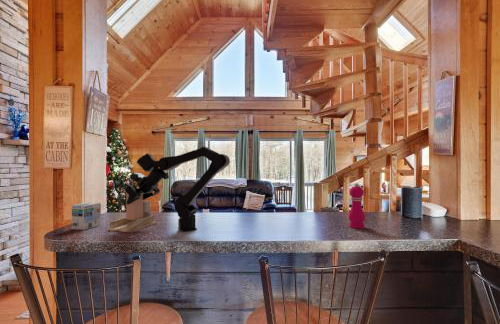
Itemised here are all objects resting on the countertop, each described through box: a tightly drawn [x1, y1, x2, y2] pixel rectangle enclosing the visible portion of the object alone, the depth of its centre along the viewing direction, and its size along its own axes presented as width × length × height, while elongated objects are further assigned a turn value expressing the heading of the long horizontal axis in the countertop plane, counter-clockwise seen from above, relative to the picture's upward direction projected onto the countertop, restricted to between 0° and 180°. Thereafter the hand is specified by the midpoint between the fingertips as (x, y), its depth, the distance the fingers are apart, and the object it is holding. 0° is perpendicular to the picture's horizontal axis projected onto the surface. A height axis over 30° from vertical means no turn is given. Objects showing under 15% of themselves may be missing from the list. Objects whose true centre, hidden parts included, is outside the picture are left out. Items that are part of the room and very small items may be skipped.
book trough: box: [107, 200, 157, 233], centre depth 130 cm, size 12×18×11 cm, turn 165°
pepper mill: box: [347, 182, 366, 230], centre depth 128 cm, size 7×7×20 cm
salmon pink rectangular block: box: [125, 186, 144, 220], centre depth 130 cm, size 4×6×14 cm, turn 165°
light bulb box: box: [71, 201, 102, 231], centre depth 129 cm, size 11×7×11 cm, turn 168°
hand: (132, 202), depth 130 cm, fingers closed on salmon pink rectangular block, 6 cm apart
